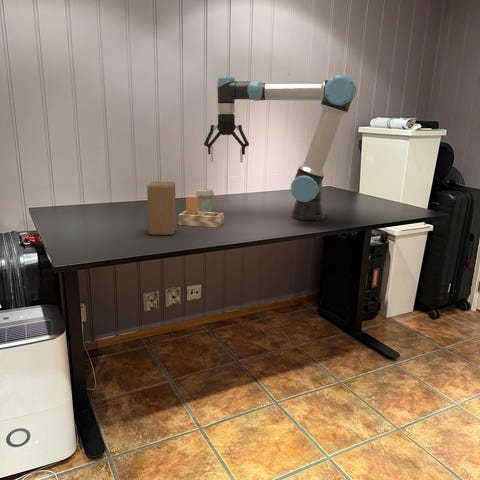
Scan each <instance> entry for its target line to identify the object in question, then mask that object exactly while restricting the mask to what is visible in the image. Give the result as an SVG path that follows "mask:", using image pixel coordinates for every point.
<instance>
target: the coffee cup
mask: <svg viewBox="0 0 480 480" xmlns="http://www.w3.org/2000/svg"><path fill="white" fill-rule="evenodd" d="M214 193H215V192H214V190H213V189H209V188H199V189H196V192H195V196H198V211H199V212H212V209H213V202H214V201H213V200H214V195H215V194H214Z"/></svg>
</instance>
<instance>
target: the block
mask: <svg viewBox="0 0 480 480" xmlns="http://www.w3.org/2000/svg"><path fill="white" fill-rule="evenodd" d="M146 188H147V189H146V190H147V195H146V197H147V199H146V200H147V224H148V225H147V226H148V228H147V229H148V230H147V231H148V235H153V236H159V235H160V236H173V235H174V233H175V231H176V228H177V222H176V221H177V217H176V216H177V213H176V210H177V209H176V205H177V204H176V202H177V201H176V183H175V182H174V181H153V180H152V181H151V182H149V183H148V184H147V187H146Z"/></svg>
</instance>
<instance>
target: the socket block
mask: <svg viewBox="0 0 480 480" xmlns="http://www.w3.org/2000/svg"><path fill="white" fill-rule="evenodd" d="M224 219H225V213H224V212H212V211H211V212H199V211H198V214H197V215H189V214H186V210H183V211H182V212H181V213H179V214H178V225H179V226H187V227H188V226H189V227H204V228H216V229H218V228H219V229H220V228H221V226H222V225H223V224H224V223H225V221H224Z"/></svg>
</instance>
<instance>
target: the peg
mask: <svg viewBox="0 0 480 480" xmlns="http://www.w3.org/2000/svg"><path fill="white" fill-rule="evenodd" d="M185 202H186V203H185V204H186V208H185V209H186V210H185V211H186V214H189V215H197V214H198V196H196V195H188V196H186V197H185Z"/></svg>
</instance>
